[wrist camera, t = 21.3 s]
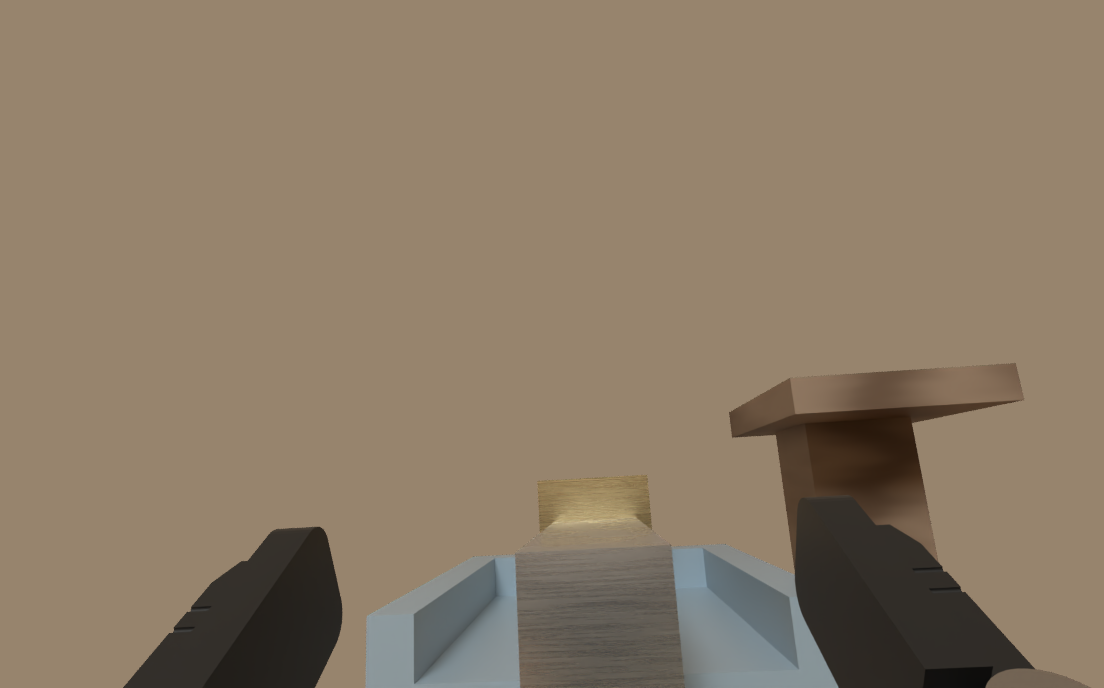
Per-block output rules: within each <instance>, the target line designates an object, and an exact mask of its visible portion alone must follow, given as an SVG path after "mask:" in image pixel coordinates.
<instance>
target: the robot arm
mask: <svg viewBox="0 0 1104 688" xmlns="http://www.w3.org/2000/svg"><path fill="white" fill-rule="evenodd" d="M795 587H796V594H797V599H798V603H799V607H800V610H801V613H802V616H803V618H804V620H805V622H806V624H807V626H808V628H809V630H810V632H811V634H812V636H813V638H814V640H815V642H816V644H817V646H818V648H819V650H820V652H821V654H822V656H823V658H824V660H825V662H826V664H827V666H828V668H829V670H830V672H831V674H832V675H833V677H834V679H835V681H836V683H837V685H838V687H839V688H1090V687H1088V686H1086V685H1084V684H1082V683H1080V682H1077V681H1075V680H1072V679H1070V678H1067V677H1065V676H1062V675H1058V674H1055V673H1052V672H1047V671H1042V670H1036V669H1035V668H1034V667H1033V666H1032V665H1031V664H1030V663H1029V662H1028V661H1027V660H1026V659H1025V657H1024V656H1023V655H1022V654H1021V653H1020V652H1019V651H1018V650H1017V649H1016V648H1015V646H1014V645H1013V644H1012V643H1011V642H1010V641H1009V640H1008V639H1007V638H1006V636H1004V634H1003V633H1002V632H1001V631H1000V630H999V629H998V628H997V627H996V626H995V624H994V623H993V622H992V621H991V620H990V619H989V618H988V617H987V616H986V614H985V613H984V612H983V611H982V610H981V609H980V608H979V607H978V606H977V604H976V603H975V602H974V601H973V600H972V599H971V598H970V597H969V596H968V595H967V594H966V592H962V591H961V589H960V586H959V585H958V584H957V583H956V581H955V580H954V579H953V578H952V577H951V576H950V575H949V574H948V573H947V572H944V571H943V569H942V566H941V565H940V564H939V563H938V562H937V560H936V559H935V558H934V557H933V556H932V555H931V554H930V553H929V552H928V550H927V549H926V548H925V547H924V546H923V545H922V544H921V543H920V542H918V541H916V540H915V539H913V538H911V537H910V536H908V535H906V534H905V533H903V532H901V531H900V530H898V529H897V528H895V527H893V526H892V525H890V524H887V525H875V523H874V522H873V521H872V520H871V519H870V517H869V516H868V515H867V514H866V513H865V511H864V510H863V509H862V508H861V506H860V505H859V504H858V503H857V502H856V500H855V499H854V498H853V497H851V496H850V495H839V496H821V497H804V498H801V499H800V501H799V503H798V508H797V529H796V557H795ZM341 624H342V603H341V597H340V593H339V588H338V583H337V579H336V574H335V570H334V565H333V561H332V556H331V552H330V547H329V543H328V538H327V535H326V533H325V531H324V530H323V529H322V528H321V527H306V528H289V529H276V530H274V531H272V532H271V533H270V534H269V535H268V536H267V538H266V539H265V540H264V541H263V543H262V544H261V545H260V546H259V548H258V549H257V550H256V551H255V553H254V554H253V555H252V556H251V558H250V559H249V560H248V561H241V562H240V563H238V564H237V565H236V566H234V567H233V568H231V569H230V570H229V571H228V572H226V573H225V574H223V575H222V576H221V577H219V578H218V579H216V580H215V581H214V582H212V583H211V584H210V585H209V587H208V588H207V589H206V590H205V591H204V593H203V594H202V595H201V596H200V597H199V598H198V600H197V601H196V602H195V603H194V605H193V606H192V607H191V612H187V613H186V614H185V615H184V616H183V618H182V619H181V620H180V621H179V622H178V623H177V625H176V626H175V627H174V632H173V633H169V634H168V635H167V636H166V638H165V639H164V640H163V641H162V642H161V643H160V645H159V646H158V647H157V648H156V649H155V651H154V652H153V653H152V654H151V655H150V656H149V658H148V659H147V660H146V661H145V663H144V664H143V665H142V666H141V667H140V668H139V670H138V671H137V672H136V673H135V674H134V676H133V677H132V678H131V679H130V680H129V681H128V683H127V684H126V685H125V686H124V687H123V688H315V686H316V684H317V682H318V680H319V678H320V676H321V674H322V672H323V670H324V668H325V666H326V664H327V661H328V659H329V657H330V655H331V653H332V651H333V649H334V647H335V645H336V643H337V640H338V637H339V634H340V630H341Z"/></svg>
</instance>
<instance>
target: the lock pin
mask: <svg viewBox="0 0 1104 688" xmlns="http://www.w3.org/2000/svg"><path fill="white" fill-rule="evenodd" d="M647 480H648V479H647V475H637V476H619V477H602V478H584V479H568V480H567V479H566V480H549V481H538V499H539V520H540V533H539V534H538V535H537V536H536V537H534V538H533V539H532V540H531V541H530V542H528V543H527V544H525V545H524V546H523V547H522V548H520V549H519V550H518V551H517V552H515V566H516V593H517V619H518V645H519V671H520V688H685V684H684V674H683V663H682V653H681V642H680V632H679V621H678V611H677V600H676V590H675V579H674V569H673V558H672V548H671V545H670V544H669V543H668V542H667V541H665V540H664V539H663V538H662V537H660V536H659V535H658V534H656V533H655V532H654V531H653V530H652V525H651V515H650V514H651V513H650V503H649V491H648V481H647Z"/></svg>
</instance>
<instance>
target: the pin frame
mask: <svg viewBox="0 0 1104 688" xmlns="http://www.w3.org/2000/svg"><path fill="white" fill-rule="evenodd" d="M671 548H672V558H673V569H674V579H675V590H676V600H677V611H678V621H679V632H680V642H681V653H682V663H683V674H684V684H685V688H839V687H838V685H837V683H836V681H835V679H834V677H833V675H832V674H831V672H830V670H829V668H828V666H827V664H826V662H825V660H824V658H823V656H822V654H821V652H820V650H819V648H818V646H817V644H816V642H815V640H814V638H813V636H812V634H811V632H810V630H809V628H808V626H807V624H806V622H805V620H804V618H803V616H802V613H801V610H800V607H799V603H798V599H797V594H796V587H795V575H794V574H792V573H789V572H787V571H785V570H783V569H780V568H778V567H776V566H773V565H771V564H769V563H767V562H764V561H762V560H760V559H757V558H755V557H753V556H751V555H749V554H746V553H744V552H742V551H739V550H737V549H735V548H733V547H730V546H728V545H726V544H717V545H696V546H676V547H671ZM366 637H367V638H366V688H520V671H519V645H518V619H517V593H516V566H515V555H496V556H476V557H472V558H470V559H468V560H467V561H465V562H463V563H461V564H459V565H457V566H456V567H454V568H452V569H450V570H449V571H447V572H445V573H443V574H441V575H440V576H438V577H436V578H434V579H432V580H431V581H429V582H427V583H425V584H423V585H422V586H420V587H418V588H416V589H414V590H413V591H411V592H409V593H407V594H405V595H404V596H402V597H400V598H398V599H397V600H395V601H393V602H391V603H389V604H388V605H386V606H384V607H382V608H380V609H379V610H377V611H375V612H373V613H371V614H370V615H368V616H367V636H366Z"/></svg>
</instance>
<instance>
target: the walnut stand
mask: <svg viewBox="0 0 1104 688" xmlns="http://www.w3.org/2000/svg"><path fill="white" fill-rule="evenodd" d="M1020 400H1024V397H1023V393H1022V388H1021V384H1020V380H1019V376H1018V372H1017V367H1016V364H1015V363H1012V364H996V365H982V366H966V367H951V368H935V369H920V370H904V371H890V372H874V373H858V374H843V375H828V376H812V377H796V378H789V379H787V380H786V381H784V382H782V383H780V384H778V385H777V386H775V387H773V388H772V389H770V390H768V391H766V392H765V393H763V394H761V395H759V396H758V397H756V398H754V399H752V400H750V401H749V402H747V403H745V404H743V405H742V406H740V407H738V408H736V409H735V410H733V411H731V412H729V415H730V423H731V431H732V437H748V436H764V435H776V439H777V446H778V452H779V460H780V467H781V474H782V482H783V489H784V496H785V503H786V511H787V517H788V525H789V532H790V540H791V547H792V554H793V561H794V568H795V557H796V529H797V508H798V503H799V501H800V499H801V498H804V497H821V496H839V495H850V496H851V497H853V498H854V499H855V500H856V502H857V503H858V504H859V505H860V506H861V508H862V509H863V510H864V511H865V513H866V514H867V515H868V516H869V517H870V519H871V520H872V521H873V522H874V523H875V525H887V524H890V525H892V526H893V527H895V528H897V529H898V530H900V531H901V532H903V533H905V534H906V535H908V536H910V537H911V538H913V539H915V540H916V541H918V542H920V543H921V544H922V545H923V546H924V547H925V548H926V549H927V550H928V552H929V553H930V554H931V555H932V556H933V557H934V558H935V559H936V560H937V562H938V558H937V553H936V547H935V542H934V537H933V532H932V527H931V521H930V516H929V511H928V506H927V501H926V495H925V490H924V485H923V479H922V474H921V469H920V464H919V459H918V453H917V448H916V443H915V437H914V432H913V427H912V423H914V422H918V421H924V420H929V419H934V418H938V417H943V416H948V415H953V414H958V413H963V412H967V411H972V410H978V409H982V408H987V407H992V406H997V405H1002V404H1007V403H1012V402H1016V401H1020Z"/></svg>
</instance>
